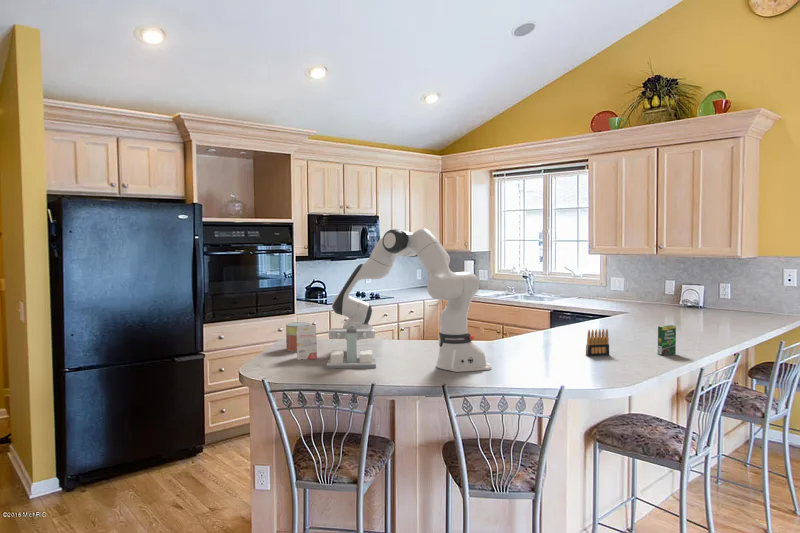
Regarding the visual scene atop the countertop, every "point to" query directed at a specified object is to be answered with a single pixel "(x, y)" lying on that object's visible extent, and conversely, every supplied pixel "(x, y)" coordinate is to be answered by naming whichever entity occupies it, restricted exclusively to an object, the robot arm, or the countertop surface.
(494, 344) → the countertop surface
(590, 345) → the ammunition clip
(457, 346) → the robot arm
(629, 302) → the countertop surface
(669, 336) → the coffee box
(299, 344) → the ink cartridge box
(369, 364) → the mounting board
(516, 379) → the countertop surface
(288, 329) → the canned food
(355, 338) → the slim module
